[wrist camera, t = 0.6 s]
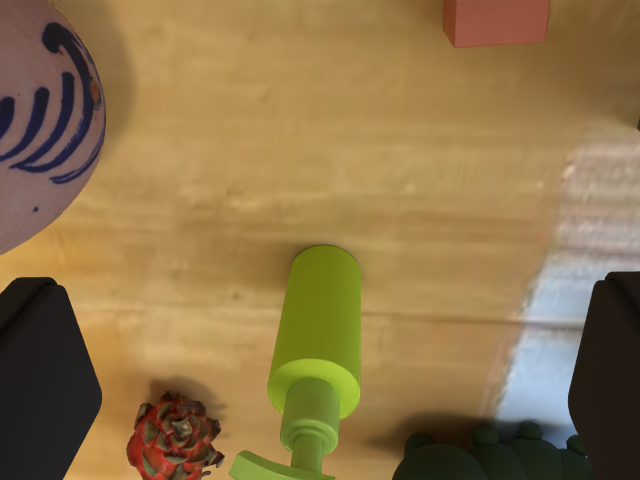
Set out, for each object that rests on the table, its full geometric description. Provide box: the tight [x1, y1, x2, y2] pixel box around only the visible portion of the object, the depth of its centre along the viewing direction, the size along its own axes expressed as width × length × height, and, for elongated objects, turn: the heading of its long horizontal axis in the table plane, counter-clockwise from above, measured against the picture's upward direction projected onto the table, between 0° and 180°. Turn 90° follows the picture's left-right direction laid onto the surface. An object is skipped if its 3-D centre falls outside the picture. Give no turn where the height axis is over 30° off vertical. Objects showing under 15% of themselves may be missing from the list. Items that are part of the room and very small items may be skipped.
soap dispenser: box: [229, 245, 361, 480], centre depth 37 cm, size 6×7×20 cm
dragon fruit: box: [126, 391, 225, 480], centre depth 53 cm, size 8×8×12 cm
